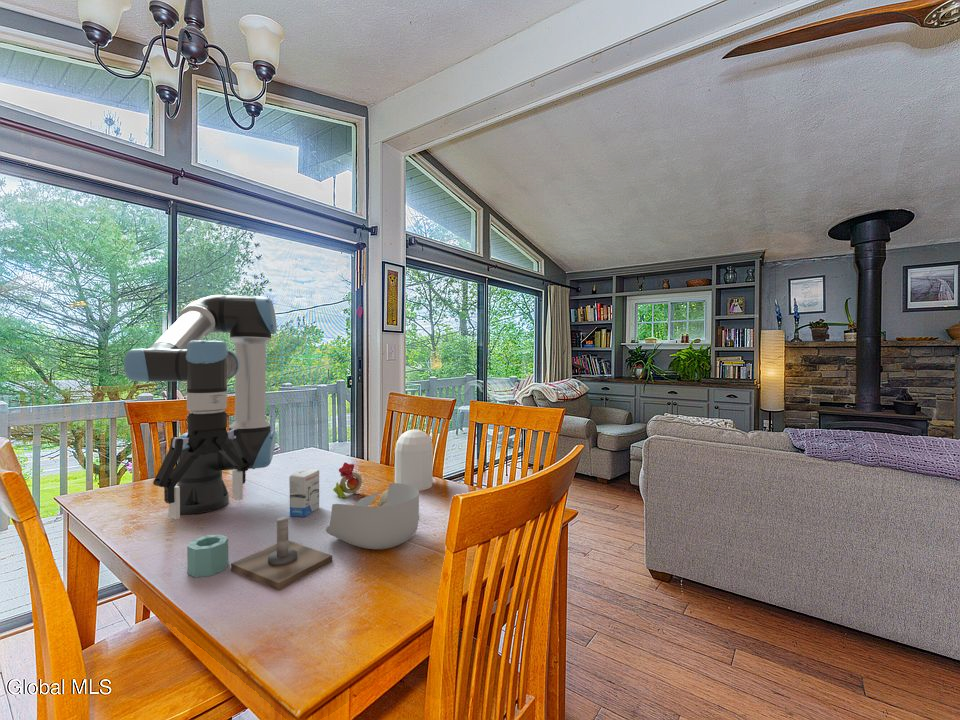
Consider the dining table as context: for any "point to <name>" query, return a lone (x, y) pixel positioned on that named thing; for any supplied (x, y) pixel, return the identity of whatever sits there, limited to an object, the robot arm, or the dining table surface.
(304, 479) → the ink box
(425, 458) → the container
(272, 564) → the shaft board
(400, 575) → the dining table surface
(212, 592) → the dining table surface
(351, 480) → the bird rattle
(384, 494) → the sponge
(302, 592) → the dining table surface
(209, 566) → the collar
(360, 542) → the bowl
